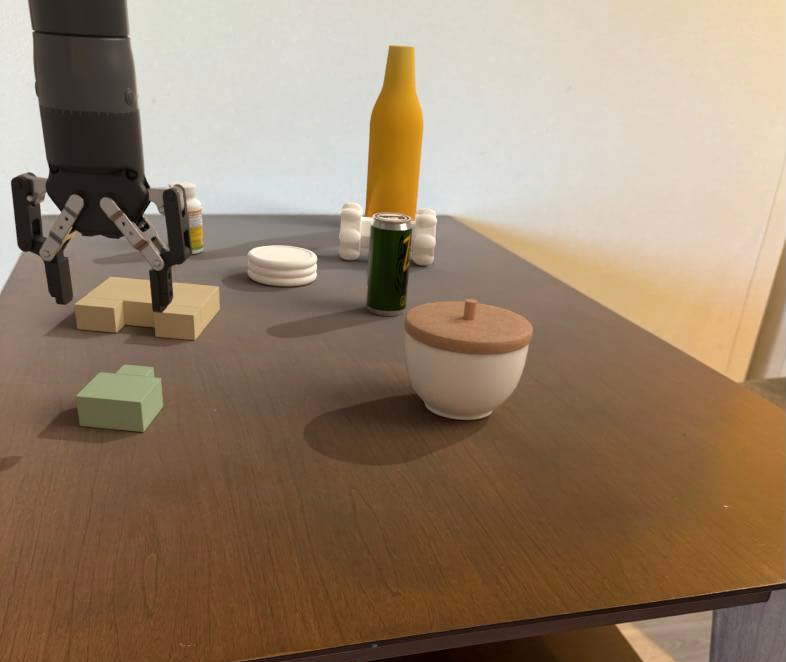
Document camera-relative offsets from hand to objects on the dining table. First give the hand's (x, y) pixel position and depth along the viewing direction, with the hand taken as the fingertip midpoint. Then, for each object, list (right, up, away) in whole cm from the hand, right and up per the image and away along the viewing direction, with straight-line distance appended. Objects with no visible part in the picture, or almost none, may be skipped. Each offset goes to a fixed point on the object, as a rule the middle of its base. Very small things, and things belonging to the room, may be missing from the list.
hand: (112, 306), depth 75 cm
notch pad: (-5, +7, +29) cm, 31 cm away
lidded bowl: (+32, -7, +13) cm, 35 cm away
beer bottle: (+24, +35, +79) cm, 90 cm away
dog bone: (+24, +24, +61) cm, 70 cm away
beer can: (+24, +10, +39) cm, 47 cm away
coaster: (+9, +17, +49) cm, 52 cm away
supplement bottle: (-8, +24, +58) cm, 63 cm away
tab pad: (-1, -8, +7) cm, 11 cm away
